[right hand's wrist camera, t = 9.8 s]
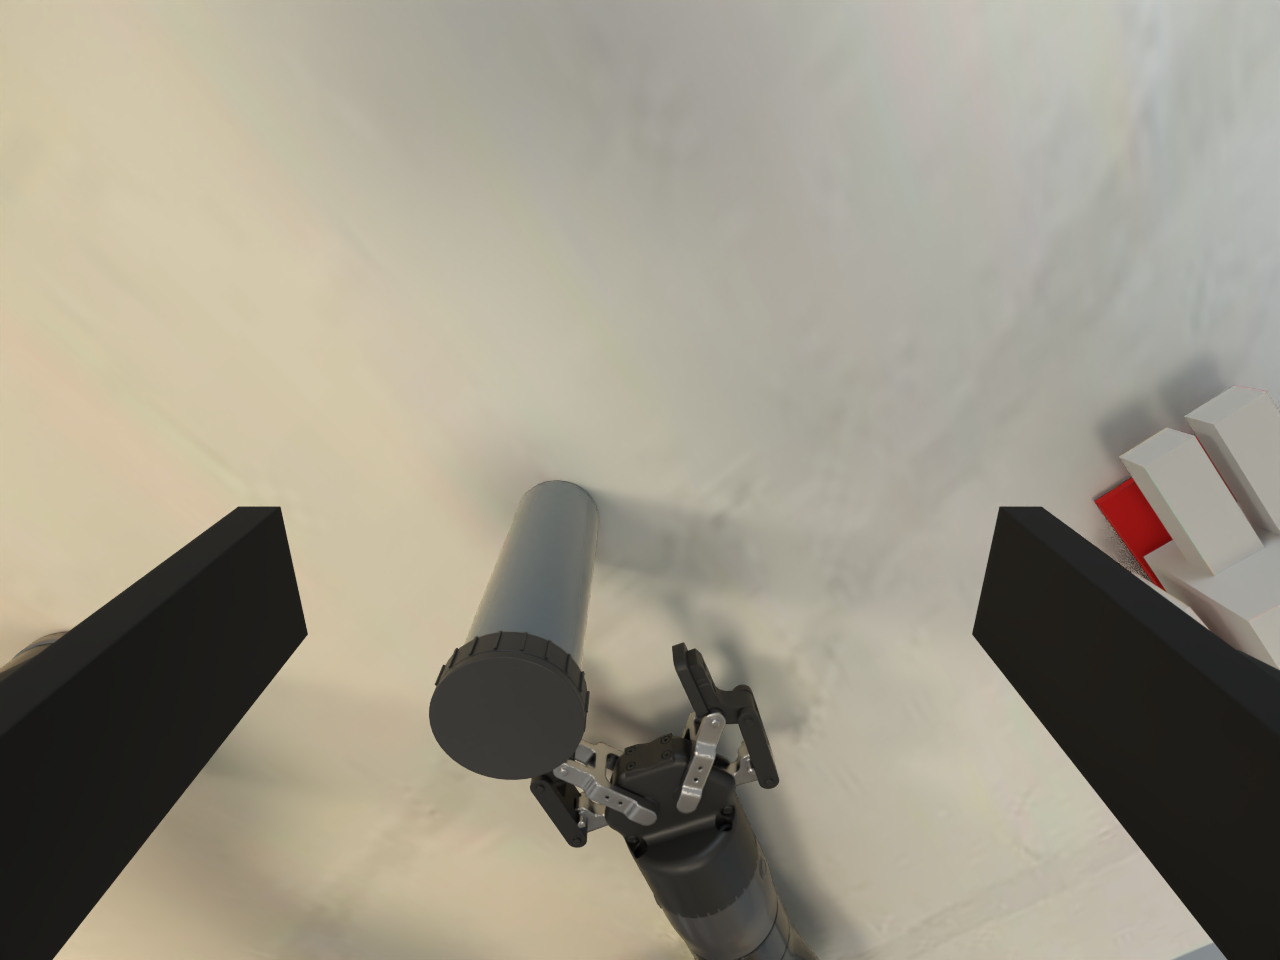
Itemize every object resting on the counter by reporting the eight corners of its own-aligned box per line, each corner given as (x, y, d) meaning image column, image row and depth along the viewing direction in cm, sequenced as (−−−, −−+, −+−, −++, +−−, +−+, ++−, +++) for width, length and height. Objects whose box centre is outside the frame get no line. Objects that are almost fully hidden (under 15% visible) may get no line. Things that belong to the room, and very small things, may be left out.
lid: (416, 718, 27) (404, 748, 25) (472, 605, 25) (461, 630, 23) (551, 769, 28) (546, 801, 26) (614, 664, 26) (612, 692, 25)
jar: (504, 534, 42) (423, 735, 26) (537, 466, 40) (472, 637, 24) (577, 566, 42) (542, 780, 27) (612, 502, 41) (597, 689, 25)
